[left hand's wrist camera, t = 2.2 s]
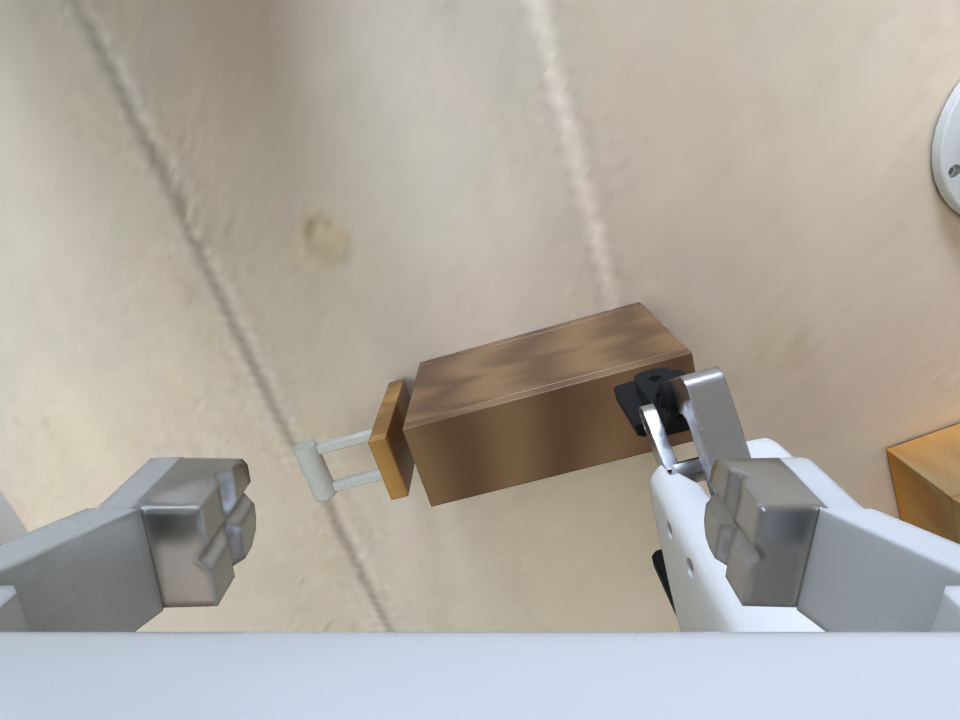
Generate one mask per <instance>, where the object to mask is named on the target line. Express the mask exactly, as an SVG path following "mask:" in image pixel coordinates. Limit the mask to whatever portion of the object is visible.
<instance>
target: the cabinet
mask: <svg viewBox="0 0 960 720" xmlns="http://www.w3.org/2000/svg"><path fill="white" fill-rule="evenodd" d="M654 368H667V369H670V370H682V371H683V372H684V373H685V374H690V373H694V372H695V368H694V363H693V357H692V353H691V352H690V351H689V350H688V349H687V348H686V347H685V346H684V345H683V344H682V343H681V342H680V341H679V340H678V339H677V338H676V337H675V336H674V335H673V334H672V333H671V332H670V331H669V330H668V329H667V328H665V327H664V326H663V325H662V324H661V323H660V322H659V321H658V320H657V319H656V318H655V317H654V316H653V315H652V314H651V313H650V312H649V311H648V310H647V309H646V308H645V307H644V306H643V305H642V304H641V303H640V302H639V303H635V304H631V305H628V306H624V307H621V308H617V309H613V310H610V311H606V312H602V313H599V314H595V315H592V316H588V317H584V318H581V319H577V320H573V321H570V322H566V323H562V324H559V325H555V326H552V327H548V328H544V329H541V330H537V331H533V332H530V333H526V334H523V335H519V336H515V337H512V338H508V339H504V340H501V341H497V342H493V343H490V344H486V345H483V346H479V347H475V348H472V349H468V350H464V351H461V352H457V353H454V354H450V355H446V356H443V357H439V358H435V359H432V360H428V361H425V362H421V363H420V365H419V369H418V372H417V376H416V380H415V384H414V388H413V392H412V396H411V400H410V403H409V407H408V411H407V415H406V419H405V423H404V426H403V432H404V435H405V438H406V440H407V443H408V446H409V448H410V451H411V454H412V456H413V459H414V462H415V464H416V467H417V469H418V472H419V475H420V477H421V480H422V483H423V485H424V488H425V491H426V493H427V496H428V499H429V501H430V504H431V506H436V505H440V504H444V503H448V502H452V501H456V500H460V499H464V498H468V497H472V496H476V495H480V494H484V493H488V492H492V491H496V490H500V489H504V488H508V487H512V486H516V485H520V484H524V483H528V482H532V481H536V480H540V479H544V478H548V477H552V476H556V475H560V474H564V473H568V472H572V471H576V470H580V469H584V468H588V467H592V466H596V465H600V464H604V463H608V462H612V461H616V460H620V459H624V458H628V457H632V456H636V455H639V454H643V453H647V452H651V451H652V449H651V446H650V444H649V441H648V438H647V437H642V436H637V434H636V432H635V431H634V429H633V427H632V426H631V424H630V422H629V420H628V419H627V417H626V415H625V414H624V412H623V410H622V409H621V407H620V405H619V404H618V402H617V400H616V397H615V393H614V387H616V386H617V385H620V384H623V383H627V382H631V381H634V376H635V375H636V374H638V373H640V372H643V371H646V370H650V369H654ZM667 437H668V439H669V442H670V444H671V446H675V445H679V444H683V443H687V442H691V441H694V440H693V437H692V433H691V430H688V431H684V432H680V433H677V434H673V435H669V436H667Z"/></svg>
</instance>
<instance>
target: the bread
mask: <svg viewBox="0 0 960 720" xmlns="http://www.w3.org/2000/svg"><path fill="white" fill-rule="evenodd" d="M886 450H887V455H888V460H889V465H890V469H891V474H892V479H893V484H894V488H895V493H896V498H897V503H898V508H899V512H900V517H901V520H902V521H904V522H907V523H909V524H912V525H914V526H916V527H919V528H921V529H924V530H926V531H929V532H931V533H933V534H936V535H938V536H941V537H943V538H945V539H948V540H950V541H953V542H955V543H958V544H960V423H959V424H956V425H954V426H951V427H948V428H945V429H942V430H939V431H936V432H934V433H931V434H928V435H925V436H922V437H919V438H916V439H913V440H911V441H908V442H905V443H902V444H899V445H896V446H893V447H891V448H888V449H886Z"/></svg>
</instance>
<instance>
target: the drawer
mask: <svg viewBox="0 0 960 720" xmlns="http://www.w3.org/2000/svg"><path fill="white" fill-rule="evenodd" d="M410 400H411V398H410V396H409V393H408V390H407V387H406V385H405V382H404V380H403V379H402V380H398V381H394V382H391V383H389V385H388V388H387V391H386V393H385V396H384V399H383V402H382V404H381V407H380V410H379V413H378V415H377V418H376V421H375V424H374V426H373V429H370V430H366V431H362V432H359V433H355V434H351V435H347V436H344V437H340V438H336V439H332V440H329V441H325V442H321V443H318V444H317V442H316V441H315V440H313V439H311V440H307V441H304V442H302V443H300V444H298V445H297V446H296V447H295V448H294V449H293V452H294V454H295V456H296V458H297V461H298V463H299V465H300V467H301V469H302V472H303V474H304V476H305V478H306V480H307V482H308V485H309V487H310V489H311V491H312V493H313V496H314V498H315V500H316V501H319V502H320V501H325V500H328V499H330V498H331V497H333V496H334V495H335V494H336V493H337V491H340V490H344V489H347V488H351V487H355V486H359V485H363V484H367V483H371V482H375V481H379V480H382V479H383V480H384V483H385V485H386V488H387V490H388V493H389V495H390V498H391V500H394V499H398V498H402V497H405V496H408V495H409V490H410V484H411V479H412V474H413V469H414V464H415V462H414V459H413V456H412V454H411V451H410V448H409V446H408V443H407V440H406V438H405V435H404V432H403V426H404V423H405V419H406V415H407V411H408V407H409V403H410ZM364 442H368V443H369V446H370V448H371V451H372V453H373V456H374V458H375V461H376V463H377V466H378V468H379V469H376V470H372V471H368V472H364V473H360V474H356V475H352V476H349V477H345V478H341V479H337V480H334V481H333V479H332V476H331V474H330V472H329V470H328V467H327V465H326V463H325V460H324V458H323V456H322V454H323V453H326V452H330V451H334V450H338V449H342V448H345V447H349V446H353V445H357V444H360V443H364Z"/></svg>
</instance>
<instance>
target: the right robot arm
mask: <svg viewBox="0 0 960 720" xmlns="http://www.w3.org/2000/svg"><path fill="white" fill-rule="evenodd" d="M932 169H933V174H934V180H935V183H936V185H937V187H938V190H939V192H940V194H941V196H942V197H943V199H944V200H945V201H946V203H947V204H948V205H949V207H950V208H952V209H953V210H954V211H955V212H957V213H958V214H959V215H960V82H959V83H958V85H957V86H956V87H955V89H954V90H953V92H952V94H951V95H950V97H949V99H948V101H947V102H946V104H945V106H944V108H943V110H942V113H941V115H940V118H939V120H938V123H937V126H936V129H935V134H934V139H933V144H932ZM614 393H615V397H616V400H617V402H618V404H619V405H620V407H621V409H622V410H623V412H624V414H625V415H626V417H627V419H628V420H629V422H630V424H631V426H632V427H633V429H634V431H635V432H636V434H637V436H642V437H647V438H648V441H649V444H650V446H651V449H652V452H653V454H654V457H655V460H656V462H657V465H658V468H657V469H656V470H655V472H654V473H653V475H652V477H651V480H650V493H651V499H652V504H653V509H654V514H655V519H656V524H657V529H658V534H659V538H660V543H661V548H662V549H661V550H657V551H656V552H655V553H654V554H653V555H652V559H653V564H654V567H655V570H656V572H657V574H658V576H659V578H660V581H661V583H662V585H663V587H664V590H665V592H666V594H667V596H668V598H669V601H670V603H671V605H672V607H673V610H674V612H675V614H676V616H677V620H678V623H679V627H680V631H681V632H825V631H824V630H822V629H821V628H820V627H819V626H817V625H816V624H815V623H813V622H812V621H811V620H809V619H808V618H807V617H805V616H804V615H803V614H801V613H800V612H799V611H797V608H796V607H760V606H742V604H741V603H740V601H739V599H738V598H737V596H736V594H735V592H734V591H733V589H732V587H731V586H730V584H729V582H728V580H727V579H726V577H725V575H726V569H727V566H726V565H725V564H723V563H722V562H720V561H718V560H717V559H715V558H714V556H713V554H712V552H711V550H710V549H709V546H708V543H707V540H706V537H705V527H704V515H705V507H706V503H707V502H708V501H709V500H710V499H711V498H710V499H709V497H708V496H707V494H706V493H705V491H704V490H703V488H702V487H701V485H700V484H698V483H696V482H699V481H703V480H706V481H707V484H708V488H709V491H710V494H711V497H713V496H714V495H715V494H716V493H717V492H716V491H715V489H714V488H713V486H712V485H711V483H710V482H709V480H710V474H711V469H712V466H713V464H714V462H715V460H719V459H741V458H788V457H793V456H792V455H791V454H790V453H789V452H788V451H787V450H785V449H784V448H783V447H782V446H781V445H779V444H778V443H776V442H775V441H773V440H771V439H769V438H761V439H756V440H751V441H746V440H745V437H744V434H743V431H742V428H741V425H740V422H739V419H738V416H737V413H736V409H735V406H734V403H733V400H732V397H731V394H730V391H729V388H728V385H727V382H726V379H725V377H724V374H723V373H722V371H721V369H720V368H719V367H712V368H709V369H705V370H701V371H698V372H694V373H690V374H685V373H684V372H683V371H682V370H670V369H667V368H654V369H650V370H646V371H643V372H640V373H638V374H636V375H635V376H634V381H631V382H627V383H623V384H620V385H617V386H616V387H614ZM688 430H691V433H692V437H693V440H694V443H695V446H696V449H697V453H698V456H699V457H697V458H693V459H689V460H685V461H681V462H677V459H676V457H675V454H674V452H673V449H672V447H671V444H670V442H669V439H668V437H667V436H669V435H673V434H677V433H680V432H684V431H688Z"/></svg>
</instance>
